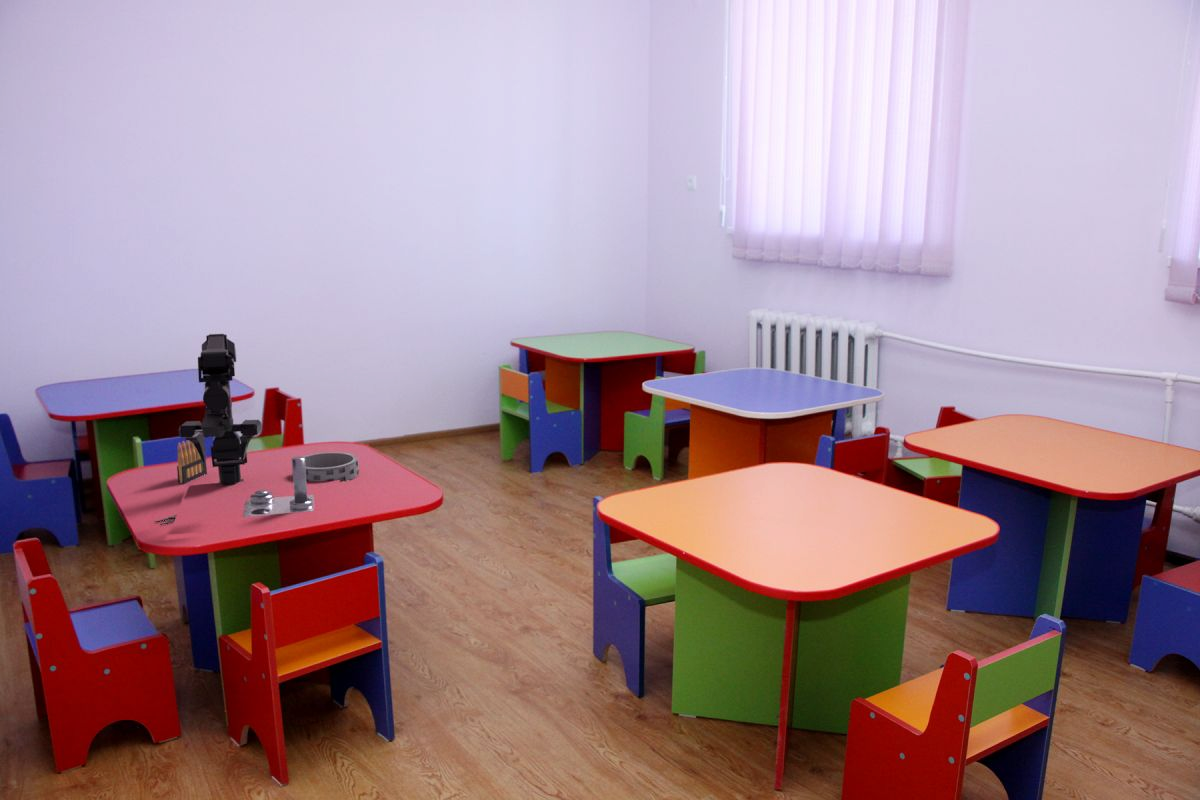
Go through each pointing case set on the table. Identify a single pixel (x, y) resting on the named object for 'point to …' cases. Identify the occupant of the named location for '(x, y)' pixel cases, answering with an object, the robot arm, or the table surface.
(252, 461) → the table surface
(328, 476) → the ring
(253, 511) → the plate
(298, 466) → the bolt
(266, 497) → the grey metal knob
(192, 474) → the ammunition clip
